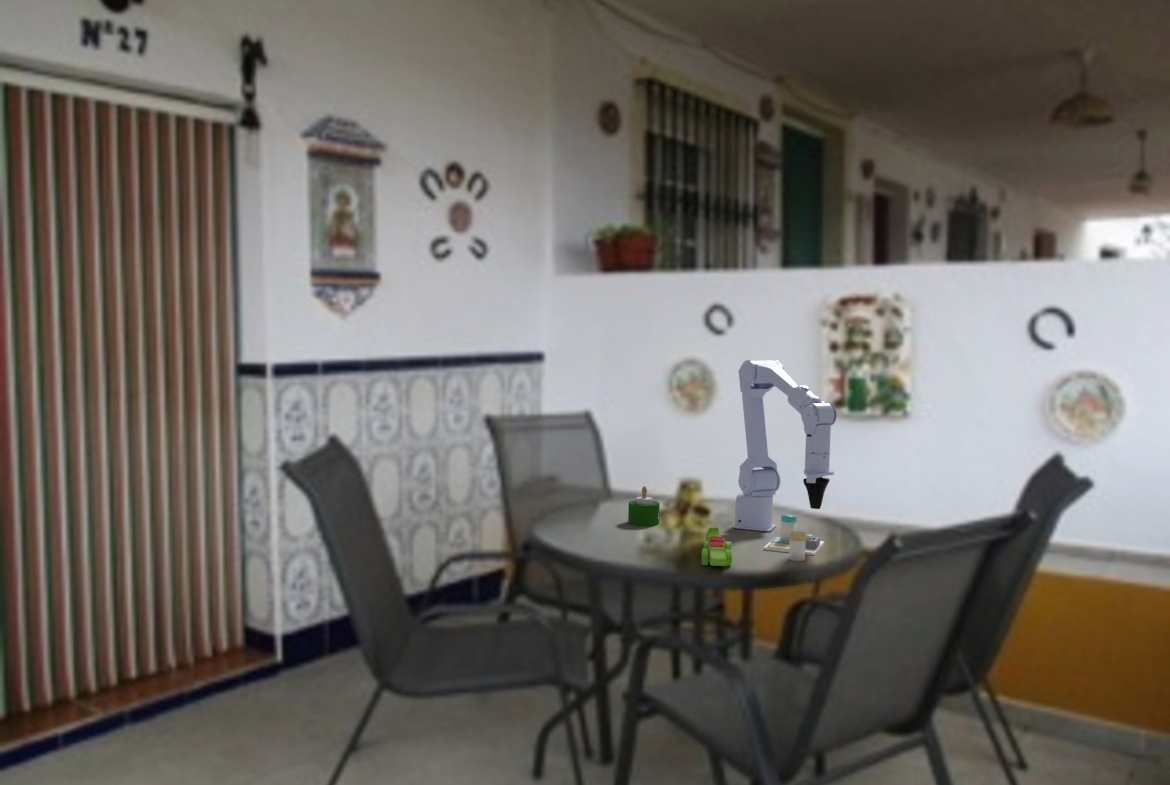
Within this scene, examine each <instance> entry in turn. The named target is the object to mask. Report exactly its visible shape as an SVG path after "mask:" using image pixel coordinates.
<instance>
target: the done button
mask: <svg viewBox="0 0 1170 785" xmlns="http://www.w3.org/2000/svg"><path fill="white" fill-rule="evenodd" d="M813 537H814V534H810V533H809V534H807V533H806V540H813Z"/></svg>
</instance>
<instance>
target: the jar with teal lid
mask: <svg viewBox="0 0 1170 785" xmlns="http://www.w3.org/2000/svg"><path fill="white" fill-rule="evenodd" d="M797 518H798V516H797V515H793V514H786V513H785V514H782V515H781V517H780V519H781V520H780V533H779V536H780V540H782V541H787V542H790V538H789V535H790V532H797Z"/></svg>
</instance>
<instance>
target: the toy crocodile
mask: <svg viewBox="0 0 1170 785" xmlns="http://www.w3.org/2000/svg"><path fill="white" fill-rule="evenodd" d="M732 556H733V553H732V541H726V538H725V536H721V535H720V531H719V527H709V528H708V529H707V531H706V536H705V540H703V548H702V549H701V566H709V565H710V566H712V567H713V566H717V567H718V566H719V567H731V566H732Z"/></svg>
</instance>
